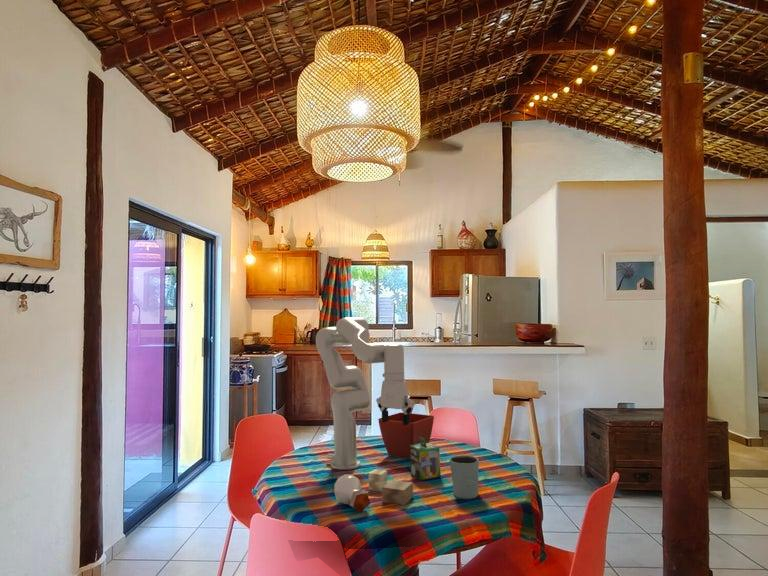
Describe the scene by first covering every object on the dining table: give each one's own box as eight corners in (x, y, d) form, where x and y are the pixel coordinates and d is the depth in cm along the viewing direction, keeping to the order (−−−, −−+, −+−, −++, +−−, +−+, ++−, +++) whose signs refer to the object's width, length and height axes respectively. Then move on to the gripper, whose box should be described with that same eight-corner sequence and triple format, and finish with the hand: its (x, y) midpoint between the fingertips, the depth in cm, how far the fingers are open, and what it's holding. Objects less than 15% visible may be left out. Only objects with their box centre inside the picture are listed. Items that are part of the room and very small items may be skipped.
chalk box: (441, 477, 189) (440, 438, 189) (419, 480, 185) (418, 441, 186) (430, 470, 197) (429, 433, 198) (409, 473, 194) (408, 436, 195)
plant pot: (401, 447, 235) (400, 411, 236) (435, 452, 224) (434, 415, 225) (377, 456, 219) (377, 418, 220) (413, 463, 208) (412, 423, 209)
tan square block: (382, 502, 165) (382, 487, 165) (392, 494, 172) (391, 479, 172) (404, 505, 161) (403, 490, 162) (413, 497, 169) (412, 482, 169)
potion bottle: (344, 501, 170) (364, 521, 157) (323, 489, 165) (343, 509, 153) (358, 477, 172) (380, 495, 159) (339, 465, 168) (359, 482, 155)
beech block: (368, 490, 177) (368, 473, 177) (375, 485, 181) (374, 469, 181) (381, 491, 174) (381, 474, 175) (387, 487, 179) (386, 470, 179)
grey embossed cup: (473, 501, 163) (472, 465, 164) (445, 496, 168) (444, 460, 169) (484, 491, 172) (482, 457, 172) (457, 487, 177) (456, 453, 178)
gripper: (370, 377, 185) (371, 422, 184) (407, 379, 174) (408, 428, 173) (382, 374, 191) (383, 419, 190) (419, 377, 180) (420, 424, 179)
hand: (395, 423), depth 182 cm, fingers open, 9 cm apart
